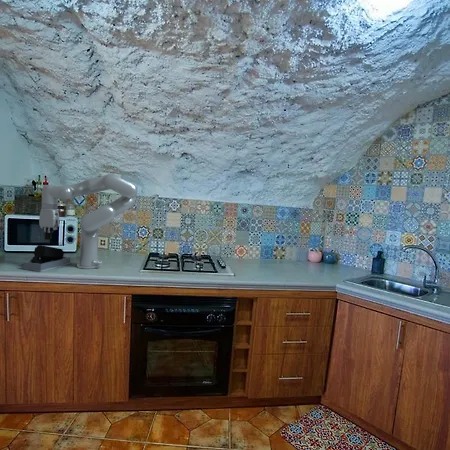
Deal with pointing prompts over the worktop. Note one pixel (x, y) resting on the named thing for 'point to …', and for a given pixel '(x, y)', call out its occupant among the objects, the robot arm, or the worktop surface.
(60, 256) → the black irregular piece
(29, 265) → the holder tray
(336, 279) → the worktop surface
